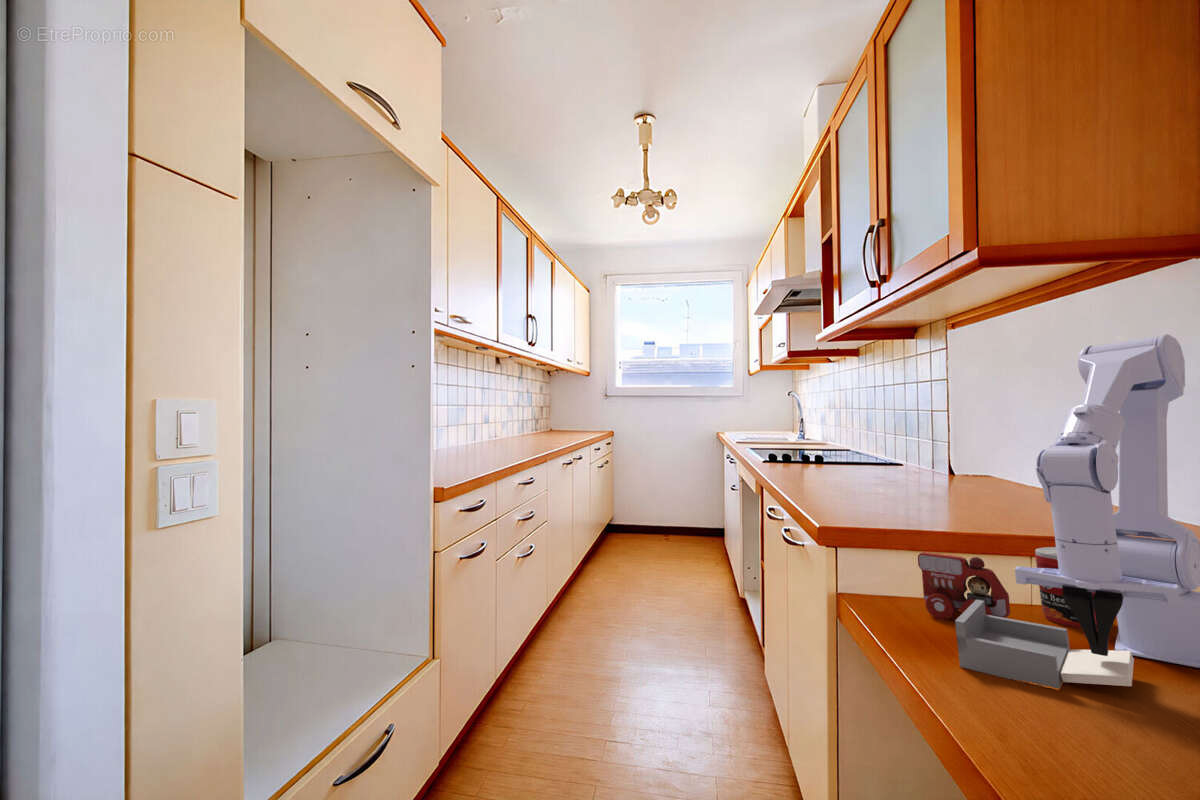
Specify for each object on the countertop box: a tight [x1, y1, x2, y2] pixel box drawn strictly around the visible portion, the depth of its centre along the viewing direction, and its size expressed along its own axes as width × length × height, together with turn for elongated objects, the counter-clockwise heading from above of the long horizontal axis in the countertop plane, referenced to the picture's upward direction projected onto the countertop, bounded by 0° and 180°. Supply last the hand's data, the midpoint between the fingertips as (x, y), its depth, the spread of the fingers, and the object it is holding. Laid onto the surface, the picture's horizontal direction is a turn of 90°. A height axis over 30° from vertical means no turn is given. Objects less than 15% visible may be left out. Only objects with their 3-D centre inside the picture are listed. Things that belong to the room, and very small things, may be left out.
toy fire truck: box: [917, 551, 1011, 620], centre depth 85 cm, size 7×12×10 cm, turn 40°
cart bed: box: [954, 600, 1070, 689], centre depth 68 cm, size 10×12×6 cm
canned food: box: [1035, 546, 1097, 629], centre depth 82 cm, size 8×8×11 cm
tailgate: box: [1060, 648, 1135, 687], centre depth 62 cm, size 1×9×6 cm
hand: (1099, 652), depth 62 cm, fingers closed
